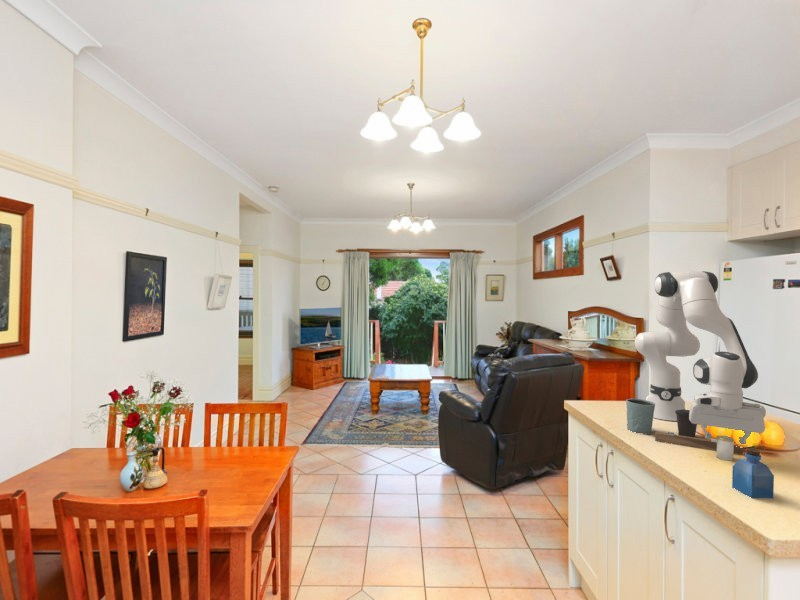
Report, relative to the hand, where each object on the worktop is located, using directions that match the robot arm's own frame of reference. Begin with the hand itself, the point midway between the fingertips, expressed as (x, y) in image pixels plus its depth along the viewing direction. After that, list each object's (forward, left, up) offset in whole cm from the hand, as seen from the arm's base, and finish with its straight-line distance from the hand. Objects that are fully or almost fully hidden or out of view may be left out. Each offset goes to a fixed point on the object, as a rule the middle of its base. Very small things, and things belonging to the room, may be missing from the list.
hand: (724, 440), depth 141 cm
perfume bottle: (+28, +2, -6) cm, 29 cm away
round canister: (0, 0, -6) cm, 6 cm away
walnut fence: (-8, -7, -6) cm, 12 cm away
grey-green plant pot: (-18, -25, -6) cm, 31 cm away
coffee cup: (-21, -9, -6) cm, 23 cm away
